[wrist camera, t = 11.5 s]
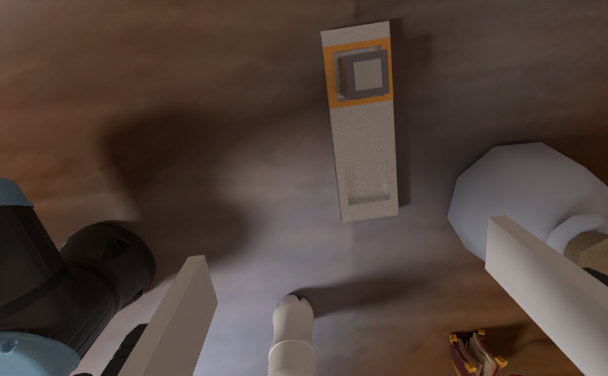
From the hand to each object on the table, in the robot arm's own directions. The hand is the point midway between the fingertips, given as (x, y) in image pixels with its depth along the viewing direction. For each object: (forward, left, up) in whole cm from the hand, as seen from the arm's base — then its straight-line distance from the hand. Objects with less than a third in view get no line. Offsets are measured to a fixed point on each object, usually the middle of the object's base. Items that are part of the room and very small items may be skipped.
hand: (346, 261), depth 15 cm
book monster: (+26, -47, -37) cm, 65 cm away
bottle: (+30, -16, -37) cm, 50 cm away
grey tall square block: (+7, +7, -36) cm, 37 cm away
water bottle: (-8, -32, -37) cm, 49 cm away
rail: (+7, -1, -37) cm, 37 cm away
